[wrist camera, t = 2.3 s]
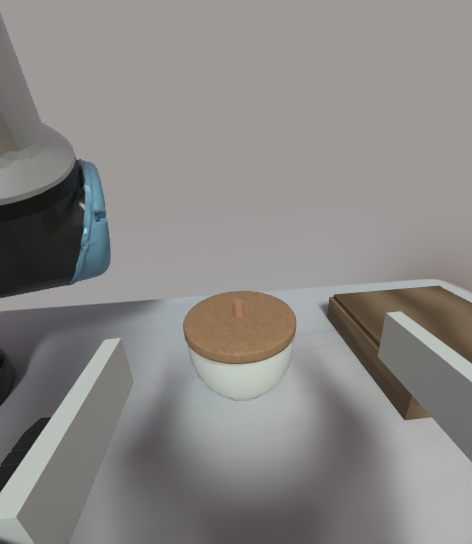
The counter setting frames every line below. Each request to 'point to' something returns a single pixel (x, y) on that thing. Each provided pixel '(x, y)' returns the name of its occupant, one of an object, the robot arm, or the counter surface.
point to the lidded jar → (240, 342)
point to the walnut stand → (417, 306)
